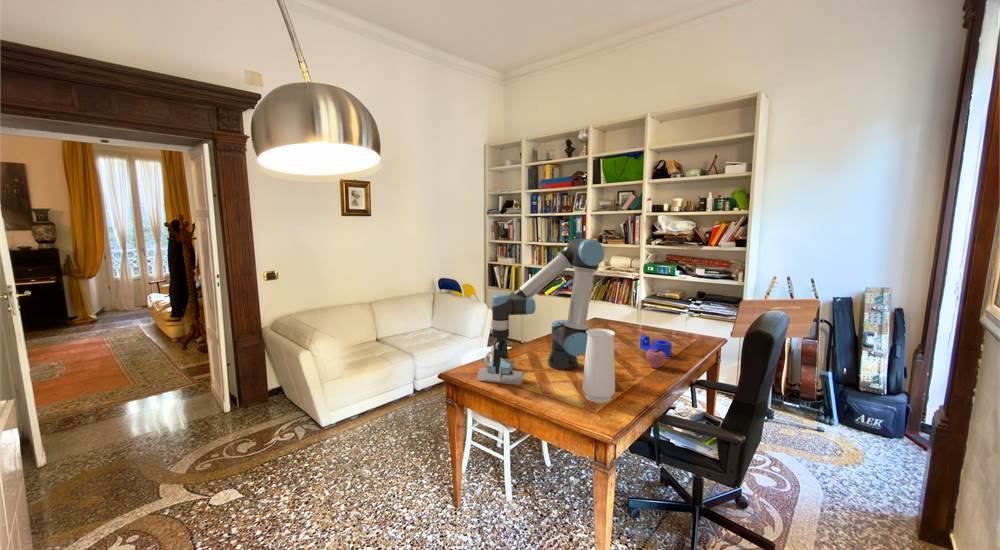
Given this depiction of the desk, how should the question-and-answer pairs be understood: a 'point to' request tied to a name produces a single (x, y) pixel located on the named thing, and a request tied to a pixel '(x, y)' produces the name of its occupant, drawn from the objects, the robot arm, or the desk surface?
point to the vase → (599, 366)
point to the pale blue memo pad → (505, 367)
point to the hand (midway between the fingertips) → (500, 376)
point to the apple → (655, 358)
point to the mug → (490, 354)
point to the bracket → (656, 345)
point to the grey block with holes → (513, 378)
